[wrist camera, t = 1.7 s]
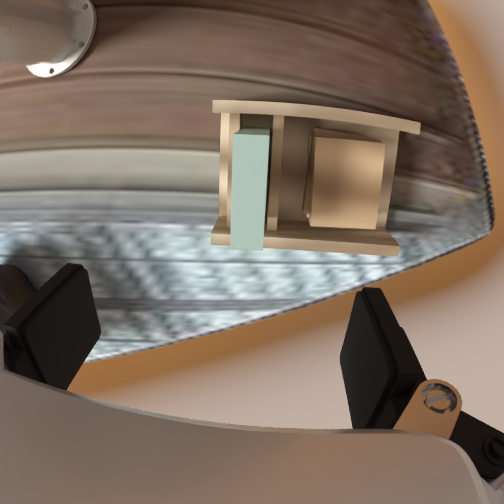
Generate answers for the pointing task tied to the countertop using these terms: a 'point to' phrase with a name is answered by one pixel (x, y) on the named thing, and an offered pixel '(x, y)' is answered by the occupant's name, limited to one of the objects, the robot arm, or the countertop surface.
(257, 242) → the pale green slab
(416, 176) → the countertop surface
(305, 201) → the offcut
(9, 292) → the pitcher
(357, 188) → the offcut
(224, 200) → the rack
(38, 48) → the robot arm
